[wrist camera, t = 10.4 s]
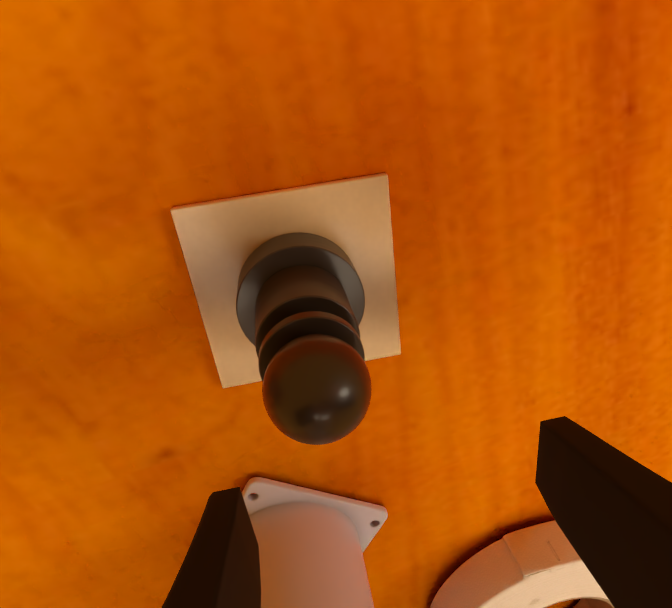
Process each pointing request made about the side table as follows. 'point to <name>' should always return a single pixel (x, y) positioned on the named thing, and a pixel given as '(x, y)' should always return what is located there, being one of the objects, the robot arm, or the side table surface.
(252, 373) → the maple square
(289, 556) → the robot arm
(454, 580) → the tape roll
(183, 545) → the side table surface
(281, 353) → the chess pawn
